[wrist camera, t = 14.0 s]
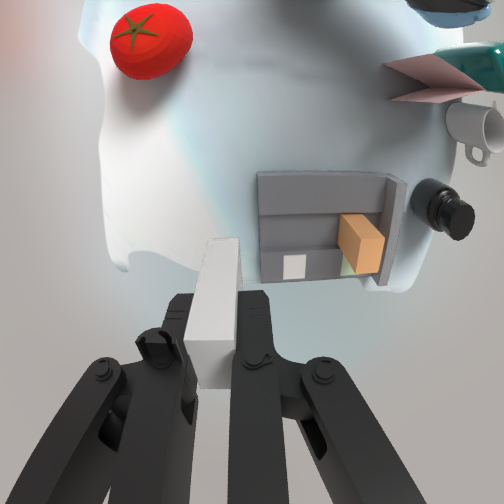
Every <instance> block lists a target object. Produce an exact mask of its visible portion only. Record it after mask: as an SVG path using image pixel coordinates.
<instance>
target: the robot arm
mask: <svg viewBox="0 0 504 504" xmlns="http://www.w3.org/2000/svg"><path fill="white" fill-rule="evenodd" d="M405 1H406V2H407V4H408V5H409V7H411V8H412V9H413V10H415V11H416V12H417V13H418V14H419V15H420V16H421V17H422V18H423V19H424V20H425V21H427V22H428V23H430V24H431V25H434V26H435V27H439V28H459V27H464V26H468V25H472V24H474V23H475V21H481V20H483V19H485V18H486V17H487V16H489V15H490V13H491V6H490V3H493V2H495V1H496V0H405ZM135 343H136V345H137V347H138V349H139V351H140V353H141V355H142V357H143V360H141V361H138V362H135V363H130V364H125V365H120V364H119V363H118V361H117V360H115V359H113V358H109V357H105V358H100V359H98V360H96V361H94V362H93V363H92V364H91V365H90V366H89V367H88V369H87V370H86V372H85V373H84V374H83V376H82V377H81V379H80V380H79V381H78V383H77V384H76V386H75V387H74V389H73V390H72V392H71V393H70V394H69V396H68V397H67V399H66V400H65V402H64V403H63V405H62V407H61V408H60V409H59V411H58V413H57V414H56V415H55V417H54V419H53V420H52V422H51V423H50V425H49V426H48V428H47V430H46V431H45V433H44V434H43V436H42V438H41V439H40V441H39V443H38V444H37V446H36V448H35V449H34V451H33V453H32V454H31V456H30V458H29V460H28V461H27V463H26V465H25V467H24V469H23V470H22V472H21V474H20V476H19V478H18V480H17V481H16V483H15V485H14V487H13V489H12V491H11V493H10V495H9V497H8V499H7V501H6V503H5V504H102V503H103V501H104V499H105V497H106V495H107V493H108V491H109V489H110V487H111V489H110V494H109V501H108V504H189V499H190V485H191V472H192V461H193V450H194V439H195V428H196V419H197V410H198V396H197V393H196V388H197V382H198V385H199V387H200V388H201V389H231V398H230V425H229V458H228V501H227V502H228V503H227V504H289V495H288V481H287V470H286V459H285V458H286V457H285V445H284V434H283V423H282V417H285V418H289V419H294V420H296V421H297V424H298V426H299V428H300V431H301V433H302V435H303V437H304V440H305V442H306V444H307V446H308V449H309V451H310V453H311V456H312V457H313V460H314V462H315V465H316V467H317V469H318V471H319V473H320V476H321V478H322V480H323V482H324V484H325V487H326V489H327V491H328V493H329V495H330V497H331V499H332V502H333V504H426V502H425V500H424V498H423V496H422V495H421V493H420V491H419V490H418V488H417V486H416V484H415V483H414V481H413V479H412V478H411V476H410V474H409V473H408V471H407V469H406V468H405V466H404V464H403V462H402V461H401V459H400V457H399V456H398V454H397V452H396V451H395V449H394V447H393V446H392V444H391V442H390V441H389V439H388V437H387V436H386V434H385V433H384V431H383V429H382V427H381V426H380V424H379V423H378V421H377V420H376V418H375V416H374V414H373V413H372V411H371V410H370V408H369V406H368V405H367V403H366V401H365V400H364V398H363V397H362V395H361V393H360V392H359V390H358V389H357V387H356V385H355V384H354V382H353V381H352V379H351V377H350V376H349V374H348V373H347V371H346V369H345V368H344V366H342V364H340V362H339V361H337V360H335V359H333V358H329V357H317V358H314V359H312V360H310V361H308V362H307V363H306V364H301V363H296V362H291V361H288V360H286V359H284V358H282V357H281V356H280V355H279V354H278V353H277V352H276V350H275V348H274V344H273V334H272V324H271V315H270V305H269V298H268V296H267V295H266V294H265V292H264V291H263V290H255V291H242V273H241V260H240V247H239V238H221V239H208V242H207V246H206V250H205V253H204V257H203V261H202V265H201V269H200V273H199V277H198V281H197V285H196V289H195V292H194V294H193V293H190V294H177V295H176V296H175V297H174V298H173V299H172V300H171V301H170V303H169V306H168V309H167V313H166V315H165V320H164V321H163V324H162V327H161V328H160V327H159V328H152V329H149V330H147V331H145V332H143V333H142V334H141V335H140V336H138V338H137V340H136V341H135Z"/></svg>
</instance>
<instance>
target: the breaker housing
mask: <svg viewBox="0 0 504 504" xmlns="http://www.w3.org/2000/svg"><path fill="white" fill-rule="evenodd" d="M257 179H258V204H259V231H260V260H261V281H262V283H279V282H297V281H312V280H327V279H341V278H354V277H366V276H372V277H373V279H374V281H375V282H376V284H377V285H378V286H386V285H387V283H388V279H389V275H390V271H391V267H392V263H393V259H394V255H395V250H396V246H397V241H398V236H399V231H400V226H401V220H402V214H403V208H404V202H405V195H406V188H407V183H405V182H404V181H402V180H400V179H398V178H396V177H395V176H393V175H391V174H389V173H372V172H348V171H273V172H257ZM340 213H362V214H363V215H364V216H365V217H366V218H367V219H368V220H369V221H370V222H371V224H372V225H373V226H374V227H375V228H376V229H377V230H378V231H379V232H380V233H381V234H382V235H383V236H384V237H385V241H384V247H383V252H382V256H381V261H380V266H379V270H378V273H366V274H355V273H354V271H353V270H352V268H351V266H350V264H349V263H348V261H347V259H346V257H345V256H344V254H343V252H342V251H341V249H340V247H339V246H338V244H337V242H338V232H339V222H340Z"/></svg>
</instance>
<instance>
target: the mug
mask: <svg viewBox="0 0 504 504" xmlns="http://www.w3.org/2000/svg"><path fill="white" fill-rule="evenodd" d="M446 125H447V129H448V131H449V133H450V135H451V136H452V138H453V139H455V140H456V141H458V142H461V143H464V144H465V152H466V157H467V159H468V160H469V161H470V162H471V163H473V164H474V165H476V166H480V167H485V166H487V165H488V163H489V159H490V153H494V154H497V153H499V152H501V151H502V150H503V148H504V118H503V116H502V114H501V113H500V112H499V111H498V110H497V109H495V108H491V107H486V106H480V105H473V104H467V103H461V102H456V103H453V104H451V105H450V106H449V108H448V110H447V113H446ZM473 147H477V148H479V149H481V150H482V152H483V158H482V161H476V160H475V159H474V158H473V156H472V149H473Z"/></svg>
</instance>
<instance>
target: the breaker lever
mask: <svg viewBox="0 0 504 504" xmlns="http://www.w3.org/2000/svg"><path fill="white" fill-rule="evenodd" d="M384 241H385V237H384V236H383V235H382V234H381V233H380V232H379V231H378V230H377V229H376V228H375V227H374V226H373V225H372V224H371V222H370V221H369V220H368V219H367V218H366V217H365V216H364V215H363V214H362V213H340V222H339V232H338V242H337V244H338V246H339V247H340V249H341V251H342V252H343V254H344V256H345V257H346V259H347V261H348V263H349V264H350V266H351V268H352V270H353V271H354V273H355V274H366V273H378V270H379V266H380V261H381V256H382V252H383V247H384Z"/></svg>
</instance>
